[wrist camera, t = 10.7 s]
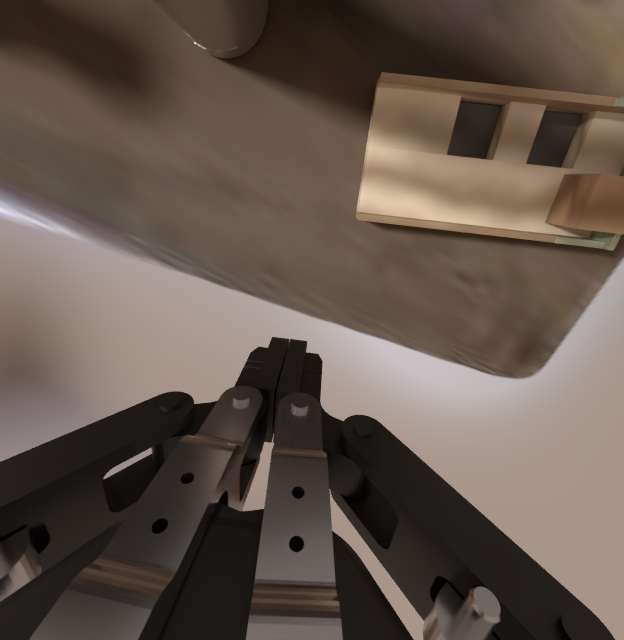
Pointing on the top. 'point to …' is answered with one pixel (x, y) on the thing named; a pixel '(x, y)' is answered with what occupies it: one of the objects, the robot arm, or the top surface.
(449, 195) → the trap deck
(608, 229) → the walnut block
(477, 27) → the top surface
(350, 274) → the top surface
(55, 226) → the top surface
